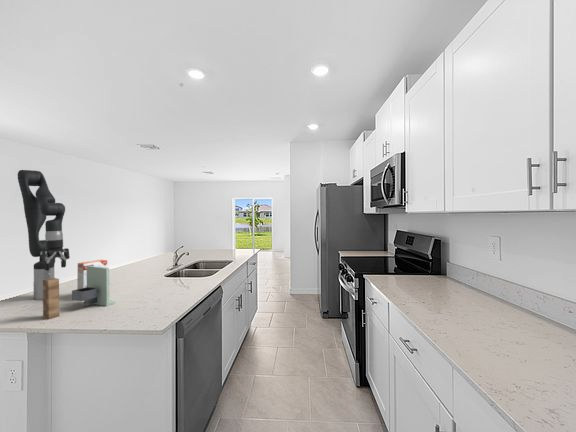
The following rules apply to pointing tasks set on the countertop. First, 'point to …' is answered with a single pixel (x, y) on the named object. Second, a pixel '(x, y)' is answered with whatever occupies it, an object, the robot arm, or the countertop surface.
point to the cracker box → (83, 271)
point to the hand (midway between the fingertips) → (55, 268)
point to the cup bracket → (95, 287)
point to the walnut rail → (50, 298)
